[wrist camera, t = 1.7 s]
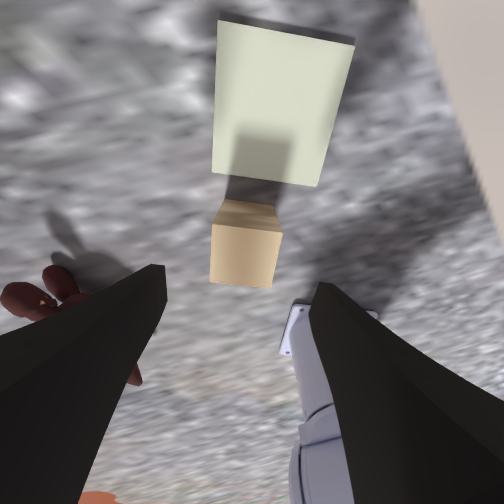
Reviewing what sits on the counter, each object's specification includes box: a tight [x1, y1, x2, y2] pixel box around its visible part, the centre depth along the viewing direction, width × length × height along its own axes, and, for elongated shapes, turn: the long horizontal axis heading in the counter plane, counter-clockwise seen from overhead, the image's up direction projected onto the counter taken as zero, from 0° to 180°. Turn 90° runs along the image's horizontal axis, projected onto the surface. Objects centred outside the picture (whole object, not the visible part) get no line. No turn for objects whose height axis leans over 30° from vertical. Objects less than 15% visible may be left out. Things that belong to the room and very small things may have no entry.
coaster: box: [212, 20, 355, 187], centre depth 14 cm, size 8×8×1 cm
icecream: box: [0, 265, 143, 386], centre depth 19 cm, size 7×7×15 cm
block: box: [210, 199, 283, 288], centre depth 15 cm, size 4×4×6 cm
